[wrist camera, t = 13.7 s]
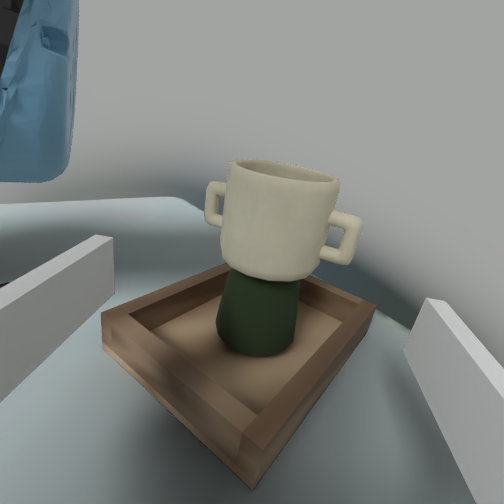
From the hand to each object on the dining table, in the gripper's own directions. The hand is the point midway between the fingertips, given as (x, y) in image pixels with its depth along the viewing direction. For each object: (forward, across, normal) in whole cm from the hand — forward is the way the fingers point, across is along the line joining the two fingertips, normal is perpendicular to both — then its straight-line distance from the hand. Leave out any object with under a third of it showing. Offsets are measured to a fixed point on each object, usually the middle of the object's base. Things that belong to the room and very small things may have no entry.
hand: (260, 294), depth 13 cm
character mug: (+9, 0, -9) cm, 13 cm away
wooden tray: (+9, 0, -10) cm, 13 cm away
